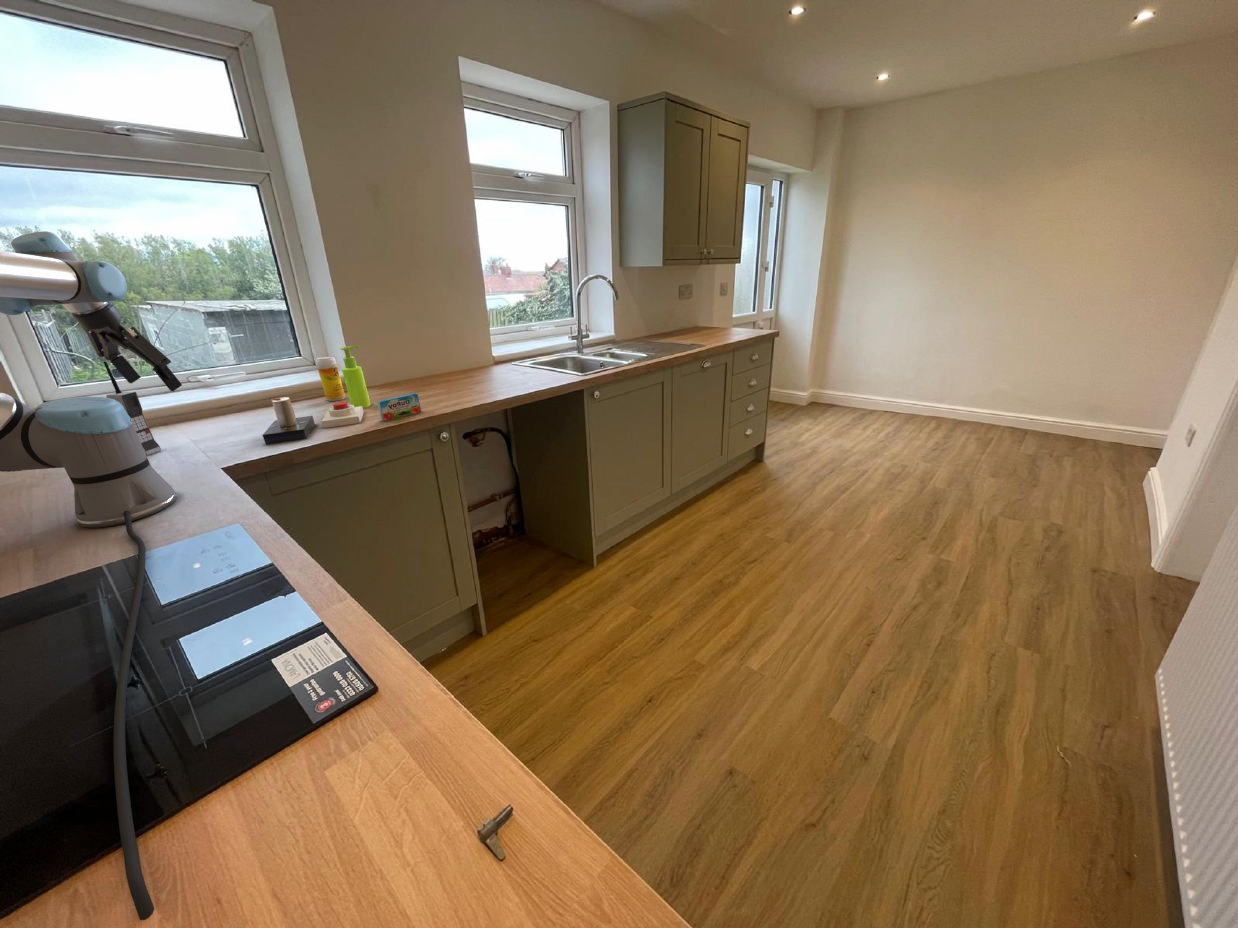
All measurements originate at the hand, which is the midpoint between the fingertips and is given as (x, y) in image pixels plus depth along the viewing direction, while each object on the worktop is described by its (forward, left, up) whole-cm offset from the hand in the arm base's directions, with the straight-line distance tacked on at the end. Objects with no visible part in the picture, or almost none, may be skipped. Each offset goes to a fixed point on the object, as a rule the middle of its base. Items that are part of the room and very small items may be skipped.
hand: (155, 384), depth 127 cm
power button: (+12, -38, -15) cm, 42 cm away
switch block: (+12, -38, -19) cm, 44 cm away
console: (+4, -25, -19) cm, 31 cm away
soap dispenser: (+27, -42, -19) cm, 53 cm away
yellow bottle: (+42, -32, -19) cm, 56 cm away
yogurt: (+7, -55, -19) cm, 58 cm away
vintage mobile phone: (+6, +10, -19) cm, 23 cm away
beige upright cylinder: (+4, -25, -16) cm, 30 cm away
